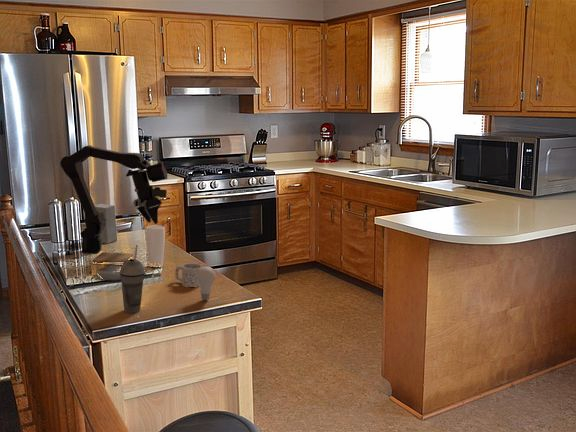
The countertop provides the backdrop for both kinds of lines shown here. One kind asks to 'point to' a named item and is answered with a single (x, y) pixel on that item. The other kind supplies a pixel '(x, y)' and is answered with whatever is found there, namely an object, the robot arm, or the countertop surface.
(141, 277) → the beverage cup
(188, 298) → the countertop surface
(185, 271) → the mug
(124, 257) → the square walnut board
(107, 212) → the skincare box
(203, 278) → the lightbulb
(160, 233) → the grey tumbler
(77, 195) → the robot arm
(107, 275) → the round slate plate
